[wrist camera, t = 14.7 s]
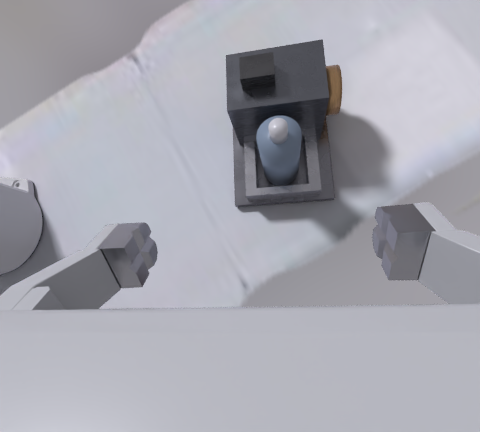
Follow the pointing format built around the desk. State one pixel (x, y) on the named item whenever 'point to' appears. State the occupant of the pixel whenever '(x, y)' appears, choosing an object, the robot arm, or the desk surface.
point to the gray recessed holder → (282, 104)
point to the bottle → (279, 148)
